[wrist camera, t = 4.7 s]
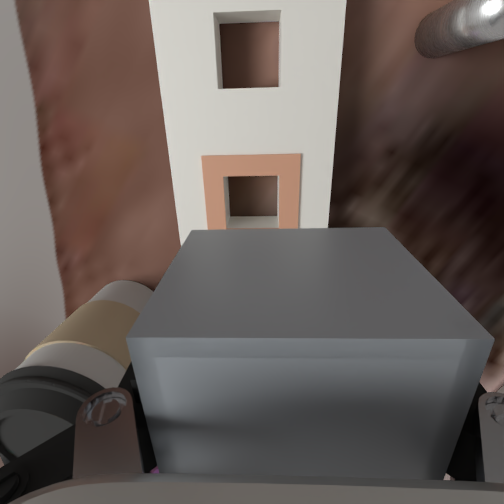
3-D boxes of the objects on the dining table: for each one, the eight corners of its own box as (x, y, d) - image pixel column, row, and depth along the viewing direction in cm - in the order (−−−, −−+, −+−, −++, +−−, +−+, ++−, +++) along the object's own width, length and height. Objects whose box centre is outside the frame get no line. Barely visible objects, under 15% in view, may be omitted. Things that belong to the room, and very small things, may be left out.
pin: (461, 9, 21) (562, -40, 14) (451, 57, 23) (539, 34, 15) (419, 10, 21) (498, -38, 14) (411, 58, 23) (480, 37, 15)
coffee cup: (107, 253, 30) (-21, 375, 17) (189, 299, 32) (135, 442, 18) (74, 316, 33) (-55, 461, 20) (150, 355, 35) (80, 510, 22)
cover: (384, 227, 11) (494, 339, 6) (362, 373, 14) (421, 539, 9) (191, 229, 12) (125, 337, 6) (208, 371, 15) (173, 530, 9)
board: (339, -35, 21) (351, -58, 18) (319, 245, 29) (325, 261, 26) (158, -27, 21) (141, -48, 18) (190, 246, 30) (182, 261, 27)
